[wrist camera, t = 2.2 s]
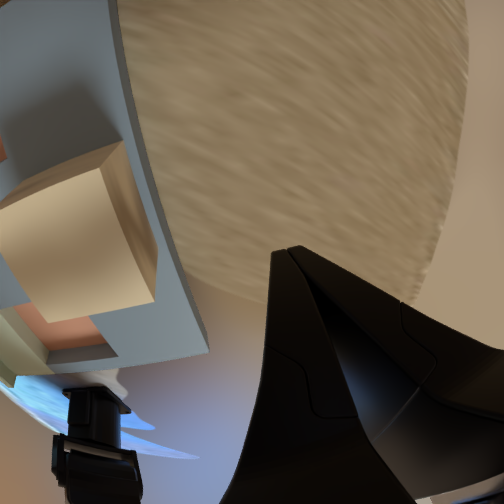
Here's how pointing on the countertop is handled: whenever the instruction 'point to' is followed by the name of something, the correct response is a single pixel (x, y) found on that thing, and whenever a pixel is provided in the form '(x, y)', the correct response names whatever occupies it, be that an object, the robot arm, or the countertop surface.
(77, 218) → the maple block
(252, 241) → the countertop surface
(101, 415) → the robot arm
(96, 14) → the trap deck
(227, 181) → the countertop surface
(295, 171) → the countertop surface
